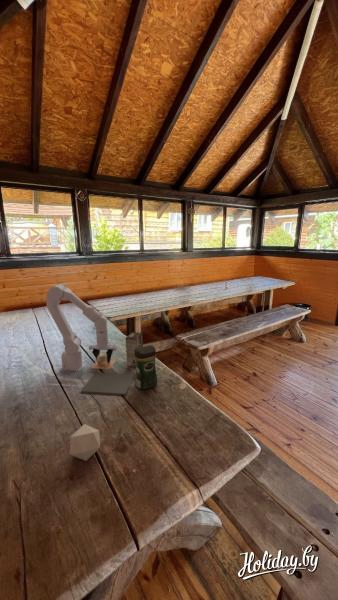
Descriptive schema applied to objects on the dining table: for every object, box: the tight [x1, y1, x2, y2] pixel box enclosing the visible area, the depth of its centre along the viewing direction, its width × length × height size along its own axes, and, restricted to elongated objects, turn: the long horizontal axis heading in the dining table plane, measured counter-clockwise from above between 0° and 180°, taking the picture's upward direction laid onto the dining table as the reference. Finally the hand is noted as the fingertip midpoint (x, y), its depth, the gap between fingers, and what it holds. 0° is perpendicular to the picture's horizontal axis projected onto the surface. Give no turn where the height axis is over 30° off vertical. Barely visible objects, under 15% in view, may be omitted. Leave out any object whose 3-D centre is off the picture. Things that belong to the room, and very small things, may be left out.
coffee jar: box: [134, 344, 158, 390], centre depth 110 cm, size 10×8×19 cm
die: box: [69, 423, 101, 461], centre depth 75 cm, size 8×9×10 cm
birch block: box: [96, 352, 109, 367], centre depth 130 cm, size 5×5×5 cm
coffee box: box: [125, 331, 144, 367], centre depth 131 cm, size 9×6×16 cm
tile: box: [91, 359, 116, 370], centre depth 131 cm, size 10×10×1 cm
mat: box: [80, 371, 136, 396], centre depth 113 cm, size 20×16×1 cm
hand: (103, 362), depth 130 cm, fingers closed on birch block, 5 cm apart
